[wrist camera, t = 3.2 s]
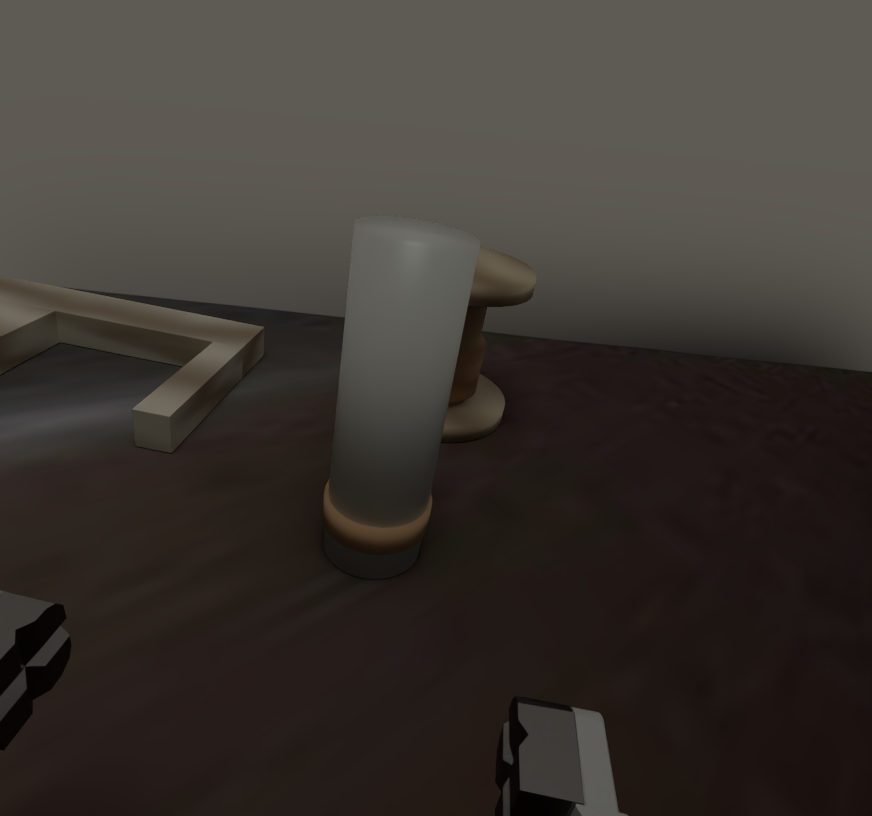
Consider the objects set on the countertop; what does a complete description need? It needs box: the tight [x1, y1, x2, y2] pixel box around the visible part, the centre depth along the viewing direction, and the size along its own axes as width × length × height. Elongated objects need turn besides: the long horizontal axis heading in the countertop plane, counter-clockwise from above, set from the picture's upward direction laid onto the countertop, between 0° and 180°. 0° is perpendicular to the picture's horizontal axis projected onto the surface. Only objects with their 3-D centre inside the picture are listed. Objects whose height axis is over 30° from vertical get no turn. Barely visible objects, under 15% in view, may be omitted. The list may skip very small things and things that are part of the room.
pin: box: [322, 216, 480, 579], centre depth 22 cm, size 4×4×13 cm
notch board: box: [0, 276, 264, 453], centre depth 33 cm, size 12×18×2 cm
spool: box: [441, 246, 537, 443], centre depth 34 cm, size 9×9×9 cm
